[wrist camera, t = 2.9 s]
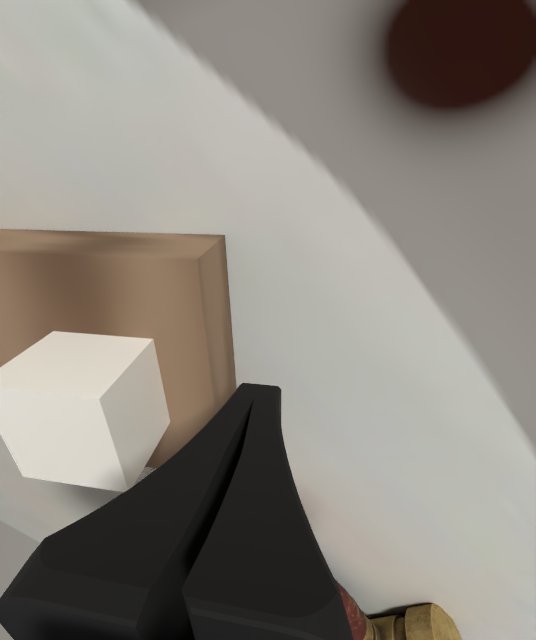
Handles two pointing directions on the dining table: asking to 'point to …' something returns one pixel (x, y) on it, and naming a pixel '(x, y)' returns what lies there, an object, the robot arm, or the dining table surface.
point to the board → (129, 308)
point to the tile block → (83, 409)
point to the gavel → (401, 623)
